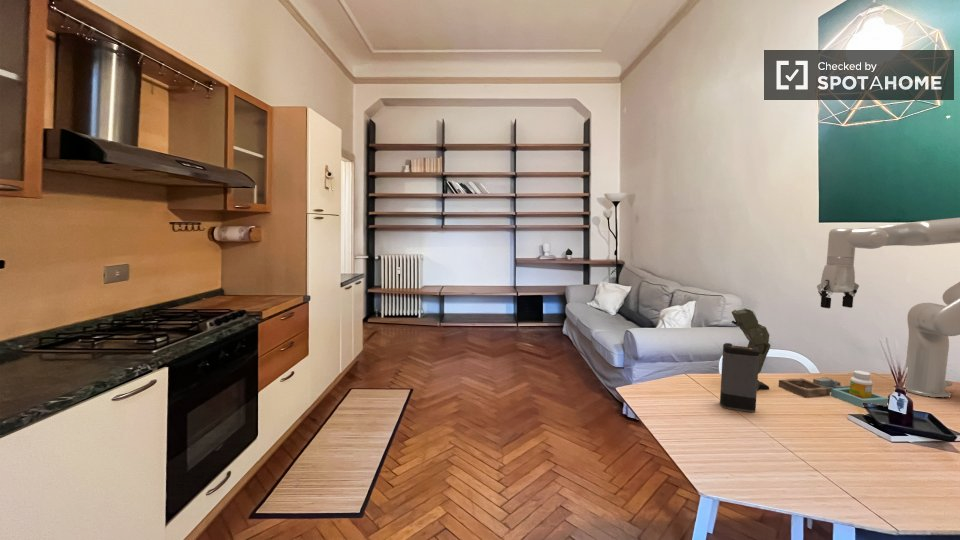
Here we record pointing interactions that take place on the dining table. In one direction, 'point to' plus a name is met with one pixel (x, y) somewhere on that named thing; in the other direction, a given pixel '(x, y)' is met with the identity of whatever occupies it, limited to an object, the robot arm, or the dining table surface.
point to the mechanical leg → (753, 336)
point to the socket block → (810, 390)
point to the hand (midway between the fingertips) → (836, 307)
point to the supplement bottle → (861, 385)
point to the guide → (838, 386)
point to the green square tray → (845, 396)
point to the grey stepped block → (825, 382)
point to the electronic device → (739, 377)
